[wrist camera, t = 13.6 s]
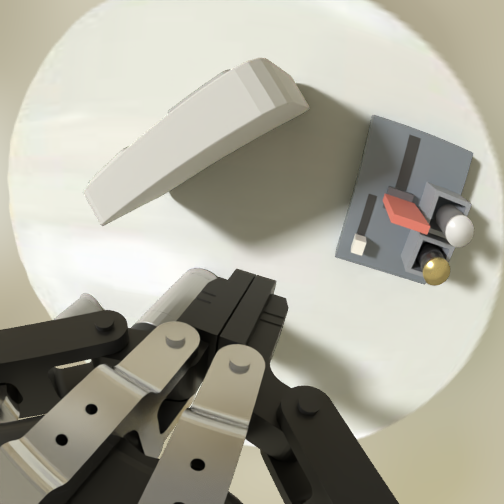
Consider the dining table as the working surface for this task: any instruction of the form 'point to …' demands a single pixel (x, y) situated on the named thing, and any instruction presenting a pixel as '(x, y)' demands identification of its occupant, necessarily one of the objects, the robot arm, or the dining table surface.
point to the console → (407, 179)
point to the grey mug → (81, 307)
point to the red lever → (404, 210)
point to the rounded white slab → (196, 136)
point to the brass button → (433, 264)
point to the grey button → (454, 225)
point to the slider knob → (358, 244)
